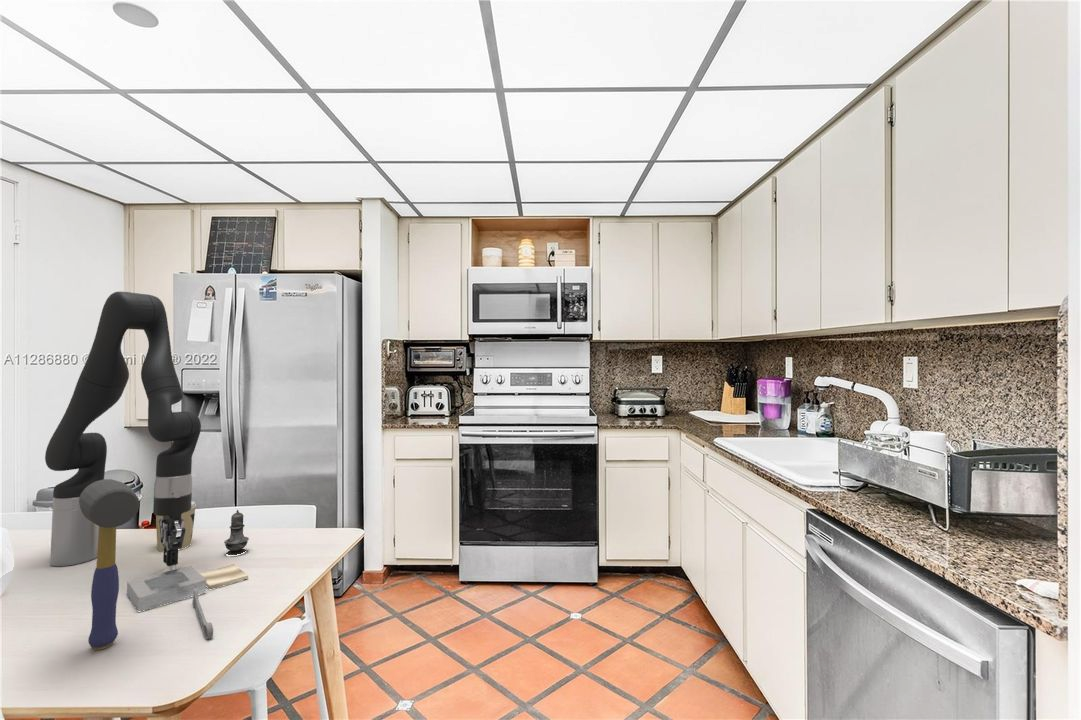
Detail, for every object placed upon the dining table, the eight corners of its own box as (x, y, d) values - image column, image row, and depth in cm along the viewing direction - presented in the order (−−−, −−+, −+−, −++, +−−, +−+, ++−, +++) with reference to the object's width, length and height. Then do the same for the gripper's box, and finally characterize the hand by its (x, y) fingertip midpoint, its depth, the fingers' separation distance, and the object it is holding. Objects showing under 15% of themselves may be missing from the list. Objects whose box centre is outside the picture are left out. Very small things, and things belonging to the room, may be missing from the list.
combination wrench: (213, 623, 91) (199, 584, 106) (205, 625, 90) (192, 586, 105) (212, 643, 91) (198, 601, 106) (204, 645, 90) (191, 603, 105)
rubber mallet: (69, 642, 89) (76, 480, 90) (122, 626, 95) (128, 474, 96) (80, 669, 81) (88, 491, 82) (137, 650, 87) (143, 484, 88)
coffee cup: (200, 545, 139) (202, 503, 140) (161, 555, 132) (163, 510, 132) (186, 538, 144) (187, 498, 145) (148, 548, 137) (149, 505, 137)
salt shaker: (236, 558, 131) (238, 513, 131) (218, 556, 132) (219, 511, 132) (253, 550, 136) (254, 507, 137) (235, 548, 137) (237, 506, 138)
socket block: (126, 594, 108) (127, 581, 109) (190, 577, 118) (191, 565, 118) (138, 612, 101) (139, 597, 101) (205, 593, 110) (206, 579, 110)
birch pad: (196, 577, 118) (196, 573, 118) (233, 568, 124) (233, 564, 124) (209, 590, 111) (209, 585, 111) (248, 579, 117) (248, 575, 117)
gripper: (147, 490, 121) (144, 560, 120) (161, 500, 112) (158, 576, 111) (183, 485, 126) (181, 552, 126) (199, 495, 118) (197, 566, 117)
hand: (170, 563), depth 119 cm, fingers closed
